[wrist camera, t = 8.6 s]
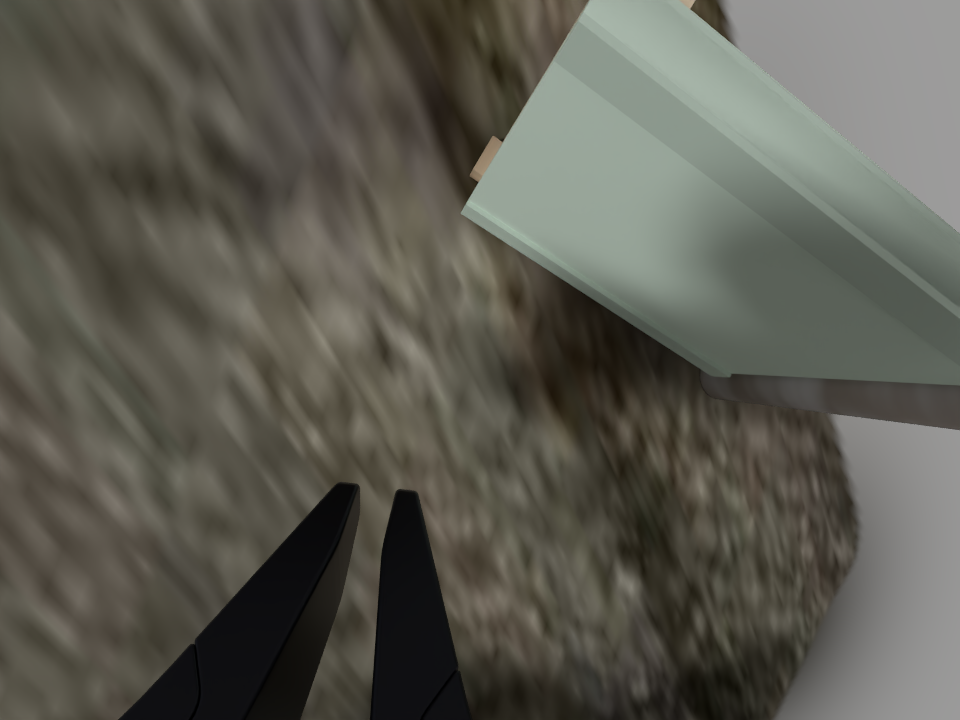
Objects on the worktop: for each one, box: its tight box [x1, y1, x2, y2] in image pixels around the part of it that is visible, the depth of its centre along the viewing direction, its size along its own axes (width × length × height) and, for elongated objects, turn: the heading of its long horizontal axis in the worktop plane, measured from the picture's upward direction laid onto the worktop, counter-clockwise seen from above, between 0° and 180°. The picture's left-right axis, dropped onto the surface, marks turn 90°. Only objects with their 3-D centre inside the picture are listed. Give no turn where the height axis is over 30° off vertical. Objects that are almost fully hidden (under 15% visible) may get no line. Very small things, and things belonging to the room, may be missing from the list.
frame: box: [470, 0, 960, 430], centre depth 17 cm, size 17×4×14 cm, turn 60°
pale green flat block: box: [461, 0, 960, 386], centre depth 16 cm, size 14×2×12 cm, turn 60°
